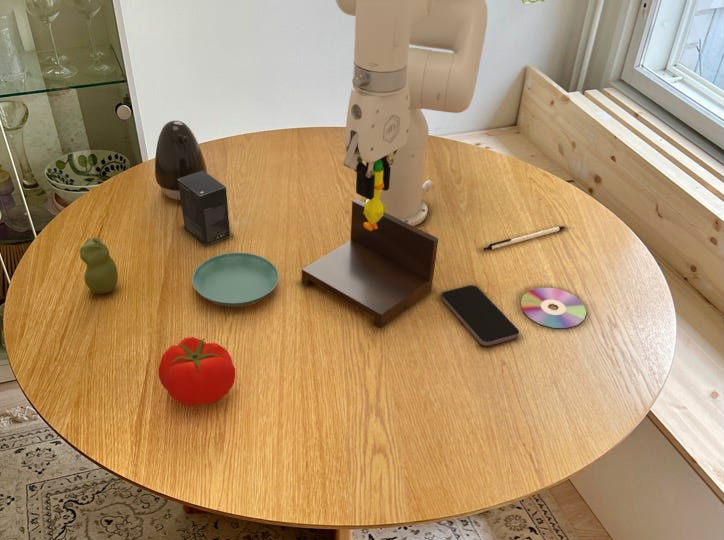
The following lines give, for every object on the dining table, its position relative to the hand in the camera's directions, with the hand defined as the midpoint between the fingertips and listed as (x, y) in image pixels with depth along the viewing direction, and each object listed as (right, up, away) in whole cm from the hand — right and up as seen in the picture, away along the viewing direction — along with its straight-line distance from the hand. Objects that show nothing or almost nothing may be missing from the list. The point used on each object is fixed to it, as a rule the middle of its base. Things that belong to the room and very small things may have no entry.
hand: (372, 190), depth 119 cm
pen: (+30, -3, +26) cm, 40 cm away
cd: (+31, -18, +11) cm, 38 cm away
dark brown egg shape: (-37, +8, +34) cm, 51 cm away
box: (-31, -2, +24) cm, 39 cm away
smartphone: (+18, -19, +9) cm, 28 cm away
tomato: (-26, -32, -6) cm, 42 cm away
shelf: (-1, -14, +13) cm, 19 cm away
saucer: (-23, -14, +12) cm, 30 cm away
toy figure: (0, -5, +5) cm, 7 cm away
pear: (-46, -15, +11) cm, 49 cm away
